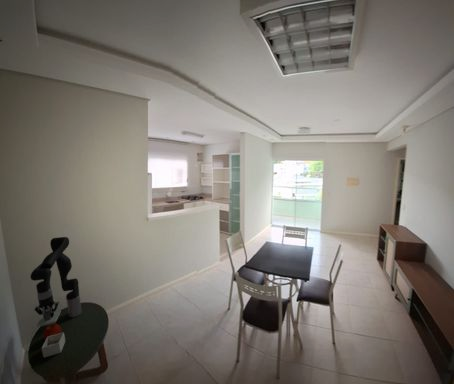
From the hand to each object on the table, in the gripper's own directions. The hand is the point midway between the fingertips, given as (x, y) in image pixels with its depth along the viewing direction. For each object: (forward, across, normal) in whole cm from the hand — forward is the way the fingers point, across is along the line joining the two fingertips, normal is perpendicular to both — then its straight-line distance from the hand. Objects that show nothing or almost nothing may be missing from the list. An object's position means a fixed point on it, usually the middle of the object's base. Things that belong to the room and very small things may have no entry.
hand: (49, 317), depth 148 cm
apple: (+27, +5, -13) cm, 30 cm away
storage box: (+27, 0, 0) cm, 27 cm away
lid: (+2, 0, 0) cm, 2 cm away
